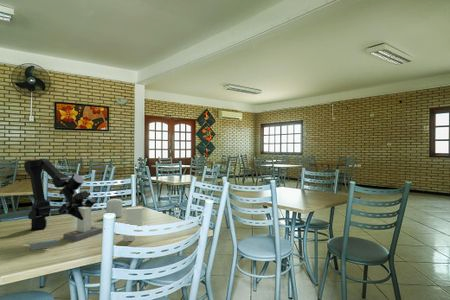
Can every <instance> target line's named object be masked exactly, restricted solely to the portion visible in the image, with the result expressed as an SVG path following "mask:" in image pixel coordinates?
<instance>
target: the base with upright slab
mask: <svg viewBox="0 0 450 300" xmlns="http://www.w3.org/2000/svg"><path fill="white" fill-rule="evenodd" d="M143 209H144V208H143V207H142V206H139V207H137V206H136V207H128V208H127V207H126V209H125V211H126V212H125V214H126V215H125V225H126V224H130V225H138V226H142V227H143V217H144V216H143Z"/></svg>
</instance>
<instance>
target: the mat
mask: <svg viewBox="0 0 450 300" xmlns="http://www.w3.org/2000/svg"><path fill="white" fill-rule="evenodd" d="M58 246H61V244H60V242H59V241H58V239H57V238H55V239H53V238H52V239H47V240H43V241H42V240H41V241H35V242H29V248H30V252H35V251H36V252H37V251H42V250H46V249H48V248H51V247H58Z"/></svg>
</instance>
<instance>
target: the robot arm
mask: <svg viewBox="0 0 450 300" xmlns="http://www.w3.org/2000/svg"><path fill="white" fill-rule="evenodd" d="M23 166H24V170H25V172H26V173H27V174H28V176H29V177H30V178H29V179H30V183H31V188H32V195H33V203H32V205H31V210H30V212H29V213H28V215H27V217H28V218H27V219H29V220H31V223H30V224H31V225H30V226H31V228H30V231H40V230H45V229H46V228H47V226H48V224H47V223H48V219H47V217H50V213H51V210H52V209H51V208H52V207H51V203H50V200H47V199H46V198H45V192H44V186H43V180H42V175H41V174H42V171H44V172H45V173H46V174H48V176H49V177H50V178H51V179H52V180H51V181H52V182H51V183H52V184H53V185H54V187H55V188H58V189H59V188H61V189H60V191H59V194H58V195H60V196H61V195H63V196H64V198H65V203H63V204H61V206H60V207H59V208H58V212H57V213H58V214H59V215H60V216H62V215H65V214H66V213H67V215H70V216H73V217H75V218H76V219H77V218H78V219H80V220H83V217H82V215H81V213H80V212H79V210H78V208H80V207H91V208H92V207H93V206H94V205H95V204H96V203H97V201H96V199H95V198H89V196H91V191H89V189H86V190H84V191H81V192H77V190H79V189H80V187H81V186H82V185H83V183H85V178H83V177H82V176H81V175H79V174H78V173H73V174H72V175H71V177H70V176H69V175H67V174H65V173H63V172H61V171H59V170H58V169H57V167H56V166H55V165H53V163H51V161H50V159H48V158H40V159H27V160H26V161H25V162H24V163H23ZM84 201H85V202H84Z"/></svg>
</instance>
